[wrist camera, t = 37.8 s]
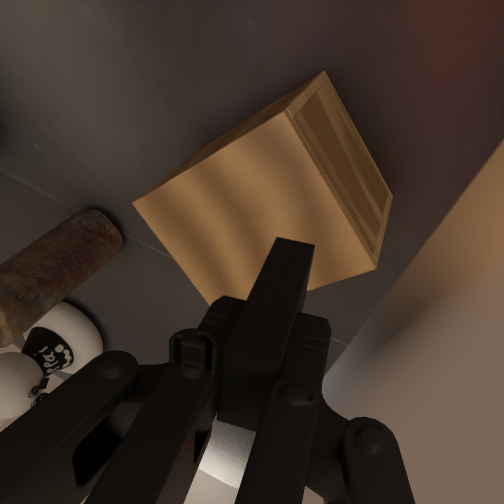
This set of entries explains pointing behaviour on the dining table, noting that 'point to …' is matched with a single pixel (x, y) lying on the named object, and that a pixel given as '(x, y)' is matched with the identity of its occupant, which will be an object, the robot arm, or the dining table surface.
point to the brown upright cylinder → (53, 269)
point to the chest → (325, 153)
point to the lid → (254, 213)
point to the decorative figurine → (46, 357)
